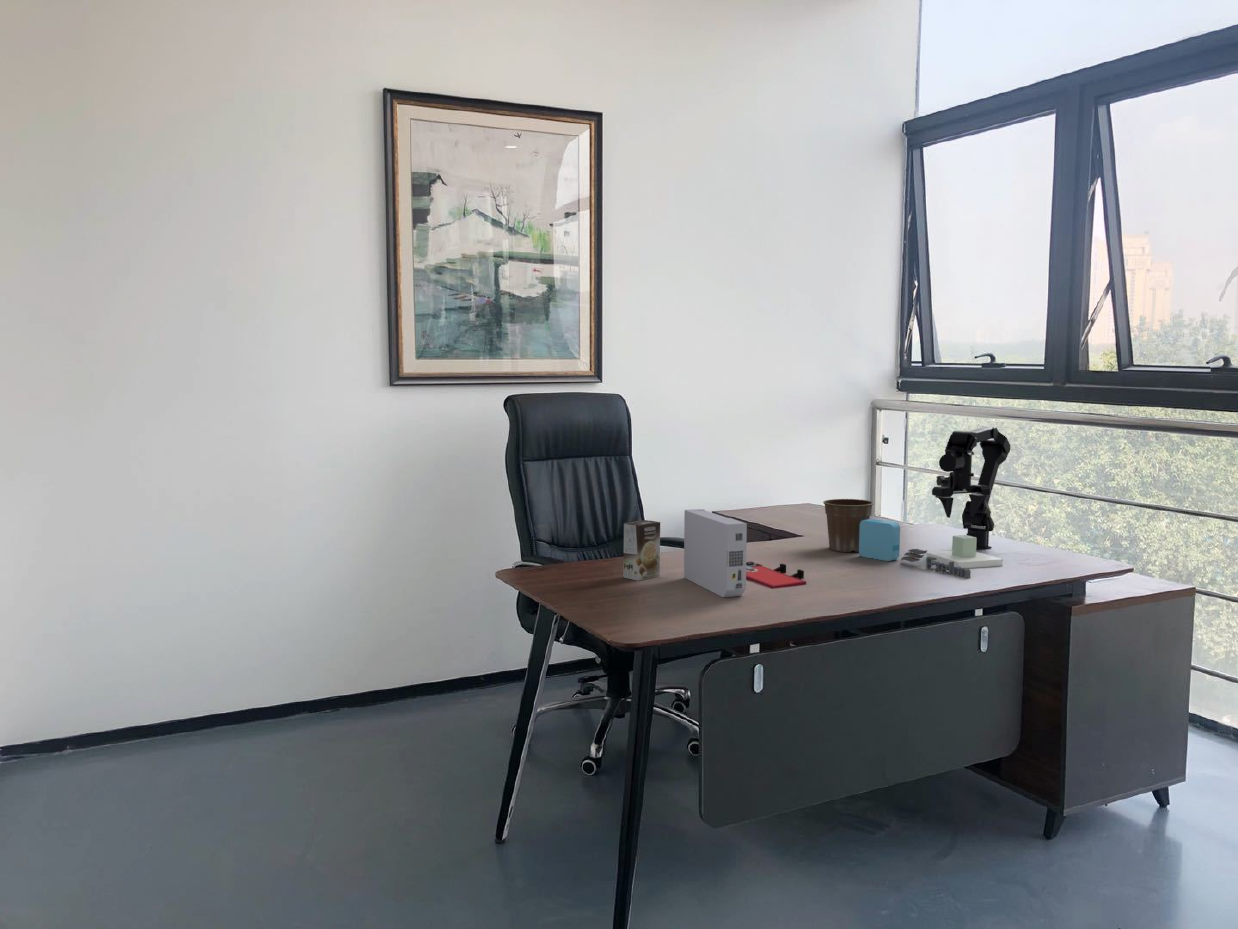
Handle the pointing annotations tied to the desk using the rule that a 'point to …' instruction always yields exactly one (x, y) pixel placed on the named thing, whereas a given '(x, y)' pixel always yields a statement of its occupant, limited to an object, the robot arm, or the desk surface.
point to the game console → (715, 552)
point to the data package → (879, 539)
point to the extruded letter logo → (937, 564)
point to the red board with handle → (773, 576)
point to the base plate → (966, 559)
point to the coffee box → (641, 550)
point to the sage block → (964, 546)
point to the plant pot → (846, 522)
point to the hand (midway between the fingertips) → (960, 516)
